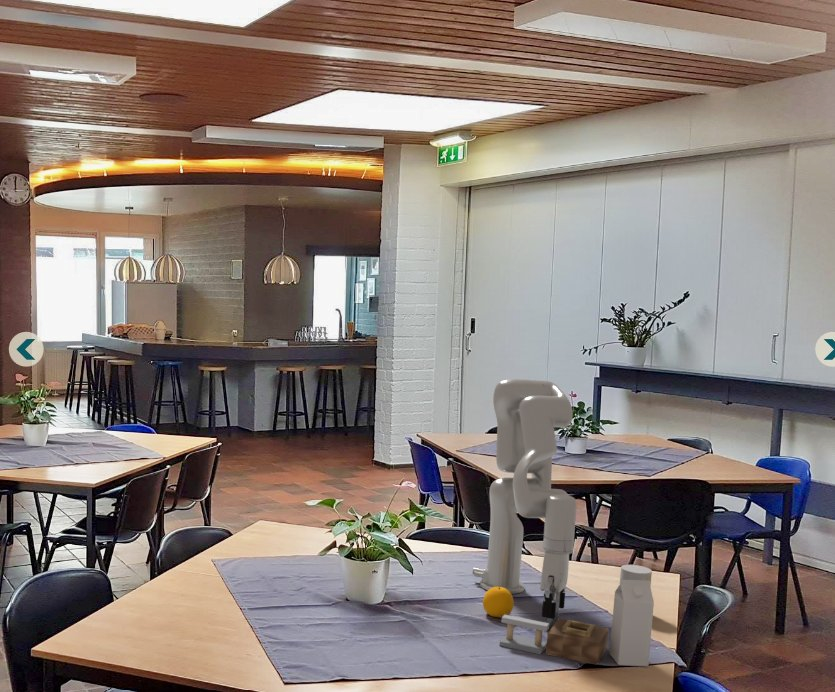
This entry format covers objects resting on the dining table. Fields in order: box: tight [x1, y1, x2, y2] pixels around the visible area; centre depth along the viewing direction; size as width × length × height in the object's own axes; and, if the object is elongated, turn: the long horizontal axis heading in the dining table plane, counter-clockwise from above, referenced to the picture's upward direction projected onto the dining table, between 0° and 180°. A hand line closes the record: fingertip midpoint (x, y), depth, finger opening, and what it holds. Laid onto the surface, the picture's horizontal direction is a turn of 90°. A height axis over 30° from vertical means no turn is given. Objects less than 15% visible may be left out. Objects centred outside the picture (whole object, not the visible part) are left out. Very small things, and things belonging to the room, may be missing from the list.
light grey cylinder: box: [619, 564, 653, 587], centre depth 256 cm, size 8×8×12 cm
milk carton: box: [609, 580, 655, 667], centre depth 220 cm, size 7×7×19 cm
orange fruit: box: [482, 587, 515, 618], centre depth 245 cm, size 8×8×8 cm
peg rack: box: [498, 614, 549, 655], centre depth 224 cm, size 11×6×6 cm, turn 68°
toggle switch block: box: [545, 618, 610, 666], centre depth 223 cm, size 12×12×6 cm
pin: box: [545, 589, 560, 633], centre depth 237 cm, size 3×3×10 cm
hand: (553, 612), depth 237 cm, fingers open, 9 cm apart
